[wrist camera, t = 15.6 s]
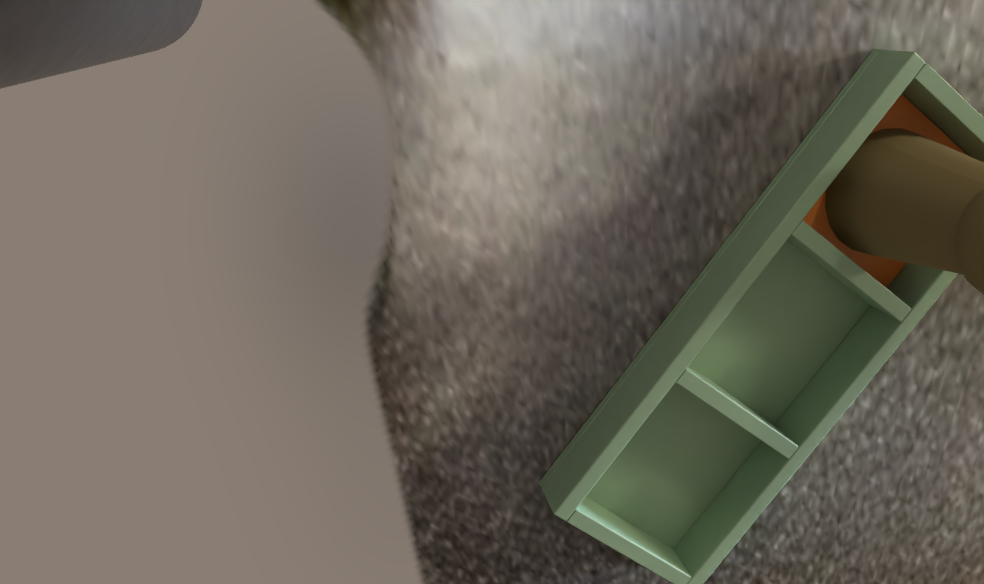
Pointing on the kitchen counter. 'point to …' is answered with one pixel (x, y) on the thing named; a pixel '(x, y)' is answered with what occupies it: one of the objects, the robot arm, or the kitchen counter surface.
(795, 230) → the compartment tray
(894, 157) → the cork
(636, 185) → the kitchen counter surface
